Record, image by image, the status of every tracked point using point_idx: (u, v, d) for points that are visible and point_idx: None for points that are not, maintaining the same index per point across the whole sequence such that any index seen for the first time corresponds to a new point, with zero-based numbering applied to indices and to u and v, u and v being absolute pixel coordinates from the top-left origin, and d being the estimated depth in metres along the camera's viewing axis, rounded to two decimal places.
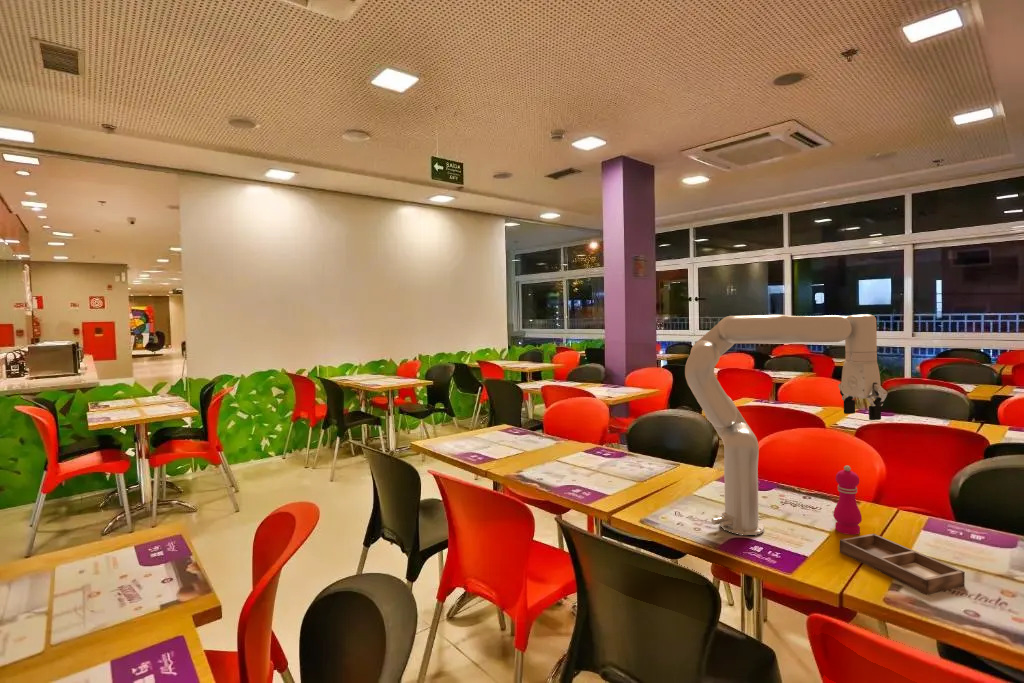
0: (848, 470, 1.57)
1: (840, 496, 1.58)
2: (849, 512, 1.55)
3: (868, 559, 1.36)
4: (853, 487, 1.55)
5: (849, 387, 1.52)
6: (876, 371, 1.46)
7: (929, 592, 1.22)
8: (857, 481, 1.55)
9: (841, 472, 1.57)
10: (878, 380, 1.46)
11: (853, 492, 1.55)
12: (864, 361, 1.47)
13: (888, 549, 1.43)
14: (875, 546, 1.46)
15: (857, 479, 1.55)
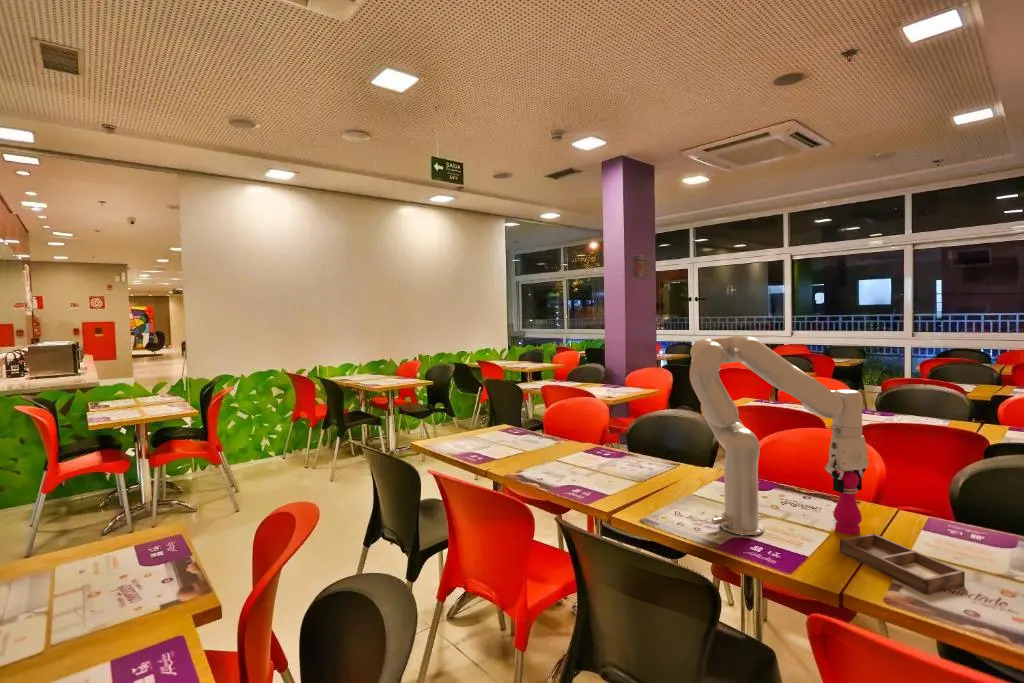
0: None
1: (840, 496, 1.58)
2: (849, 512, 1.55)
3: (868, 559, 1.36)
4: (853, 487, 1.55)
5: (852, 462, 1.54)
6: None
7: (929, 592, 1.22)
8: (857, 481, 1.55)
9: None
10: None
11: (853, 492, 1.55)
12: None
13: (888, 549, 1.43)
14: (875, 546, 1.46)
15: (857, 479, 1.55)
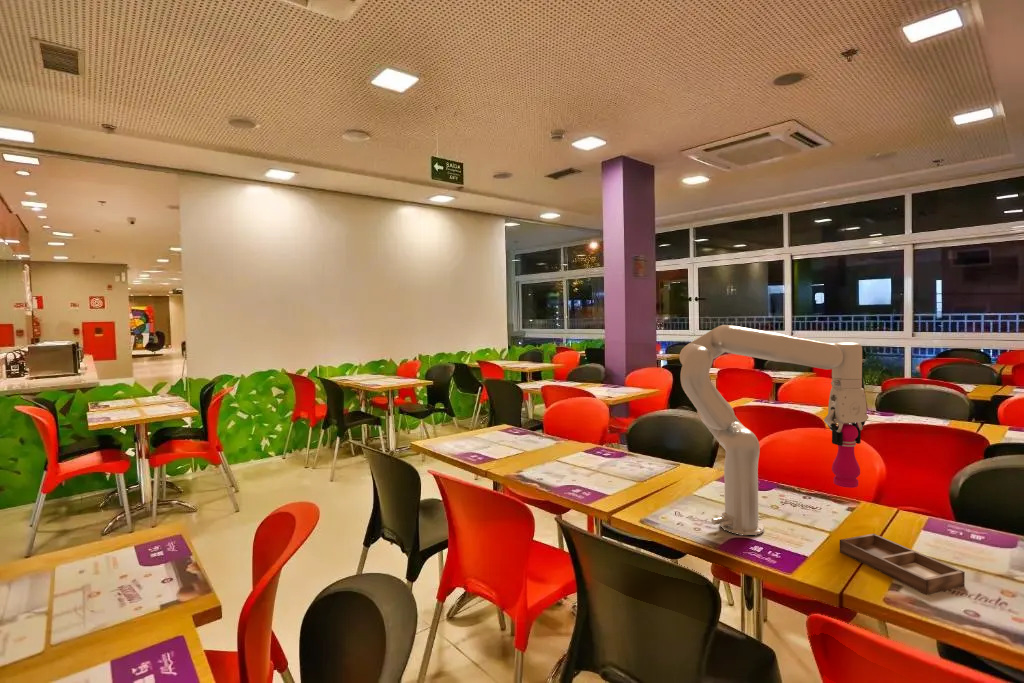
0: (847, 423, 1.56)
1: (839, 450, 1.57)
2: (847, 465, 1.55)
3: (868, 559, 1.36)
4: (852, 440, 1.55)
5: (851, 414, 1.54)
6: None
7: (929, 592, 1.22)
8: (856, 434, 1.54)
9: None
10: None
11: (852, 445, 1.55)
12: None
13: (888, 549, 1.43)
14: (875, 546, 1.46)
15: (856, 432, 1.54)
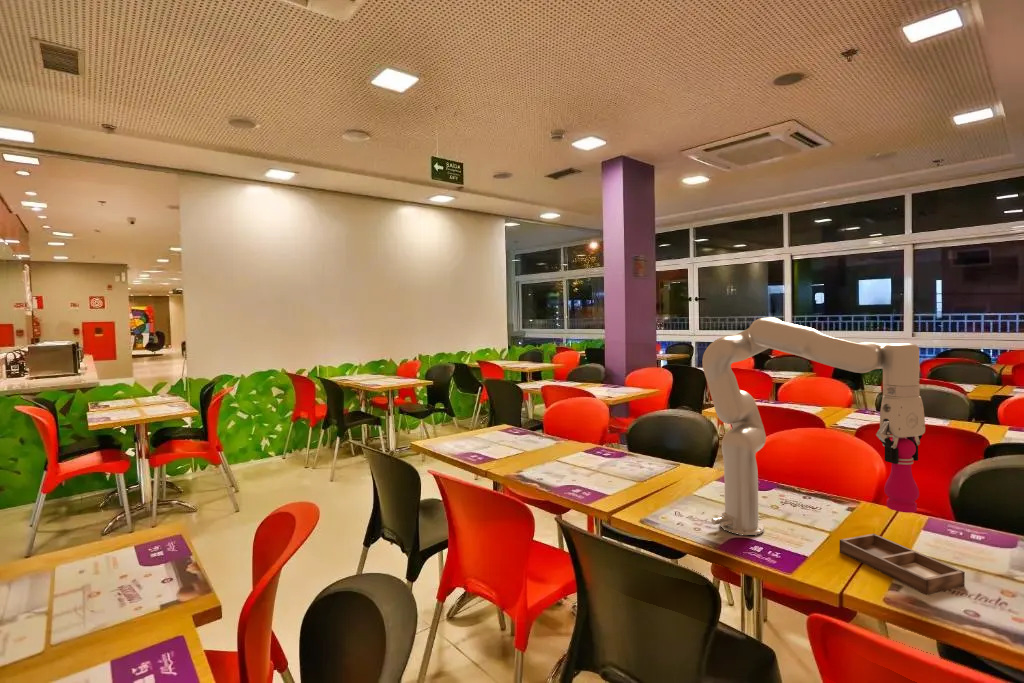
0: None
1: (893, 468, 1.35)
2: (905, 486, 1.32)
3: (868, 559, 1.36)
4: (909, 457, 1.32)
5: (908, 427, 1.31)
6: None
7: (929, 592, 1.22)
8: (914, 449, 1.32)
9: None
10: None
11: (909, 462, 1.32)
12: None
13: (888, 549, 1.43)
14: (875, 546, 1.46)
15: (914, 447, 1.32)
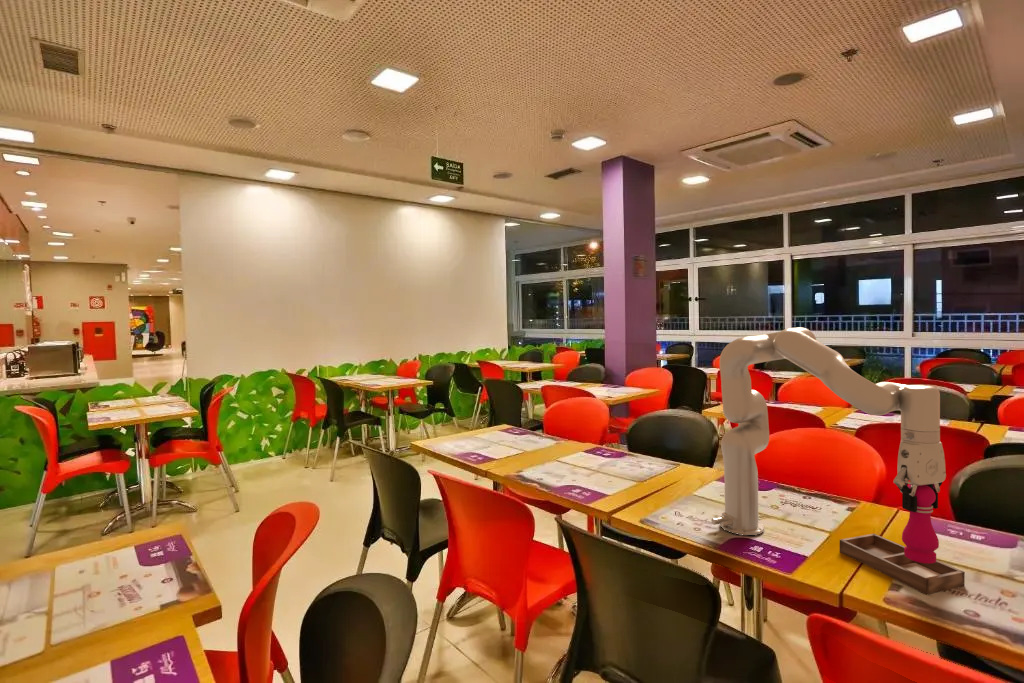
0: None
1: (911, 516, 1.29)
2: (924, 535, 1.26)
3: (868, 559, 1.36)
4: (928, 505, 1.26)
5: (928, 474, 1.25)
6: None
7: (929, 592, 1.22)
8: (934, 498, 1.26)
9: None
10: None
11: (928, 511, 1.26)
12: None
13: (888, 549, 1.43)
14: (875, 546, 1.46)
15: (934, 495, 1.26)
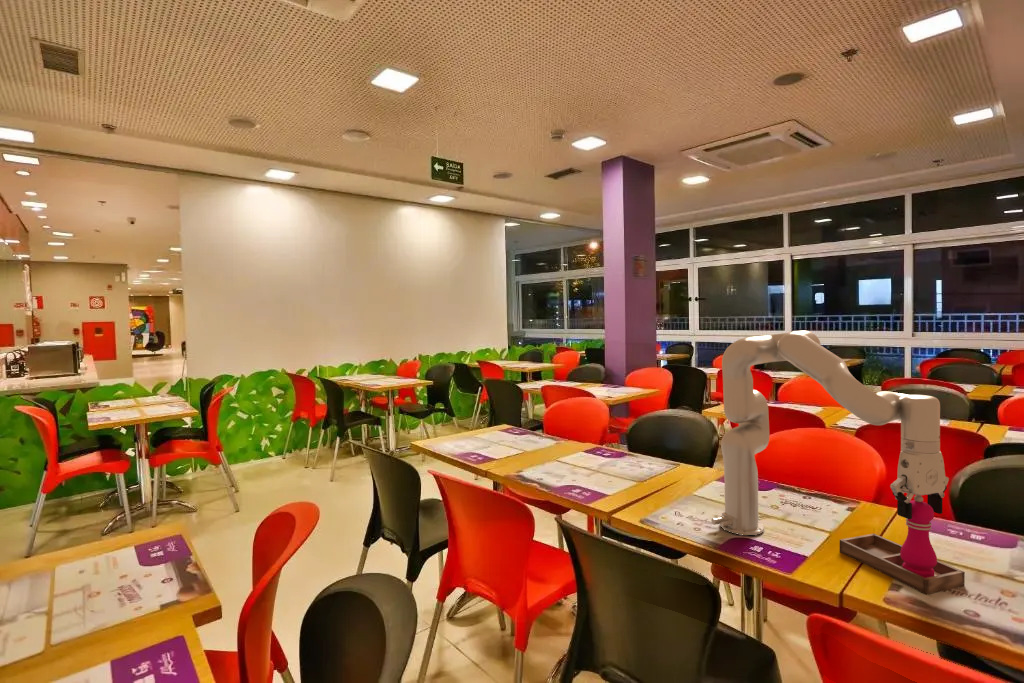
0: (920, 501, 1.28)
1: (910, 533, 1.29)
2: (922, 553, 1.27)
3: (868, 559, 1.36)
4: (927, 522, 1.27)
5: (928, 484, 1.25)
6: None
7: (929, 592, 1.22)
8: (932, 515, 1.26)
9: None
10: None
11: (927, 528, 1.27)
12: None
13: (888, 549, 1.43)
14: (875, 546, 1.46)
15: (932, 512, 1.26)
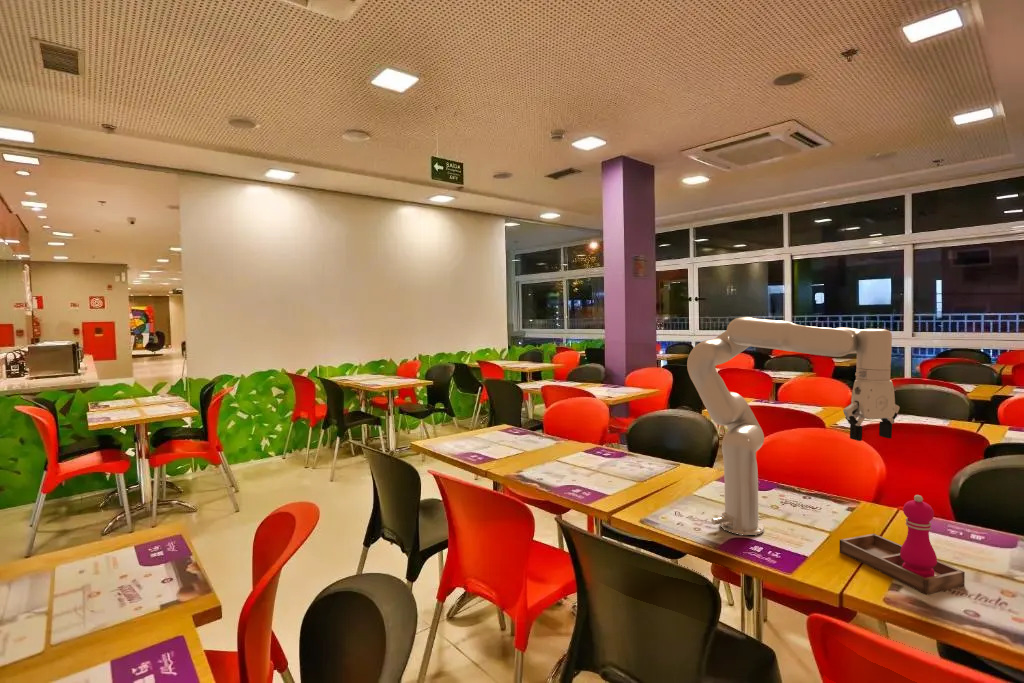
0: (920, 501, 1.28)
1: (910, 533, 1.29)
2: (922, 552, 1.27)
3: (868, 559, 1.36)
4: (927, 522, 1.27)
5: (877, 409, 1.37)
6: None
7: (929, 592, 1.22)
8: (932, 515, 1.26)
9: (911, 503, 1.29)
10: None
11: (927, 528, 1.27)
12: None
13: (888, 549, 1.43)
14: (875, 546, 1.46)
15: (932, 512, 1.26)
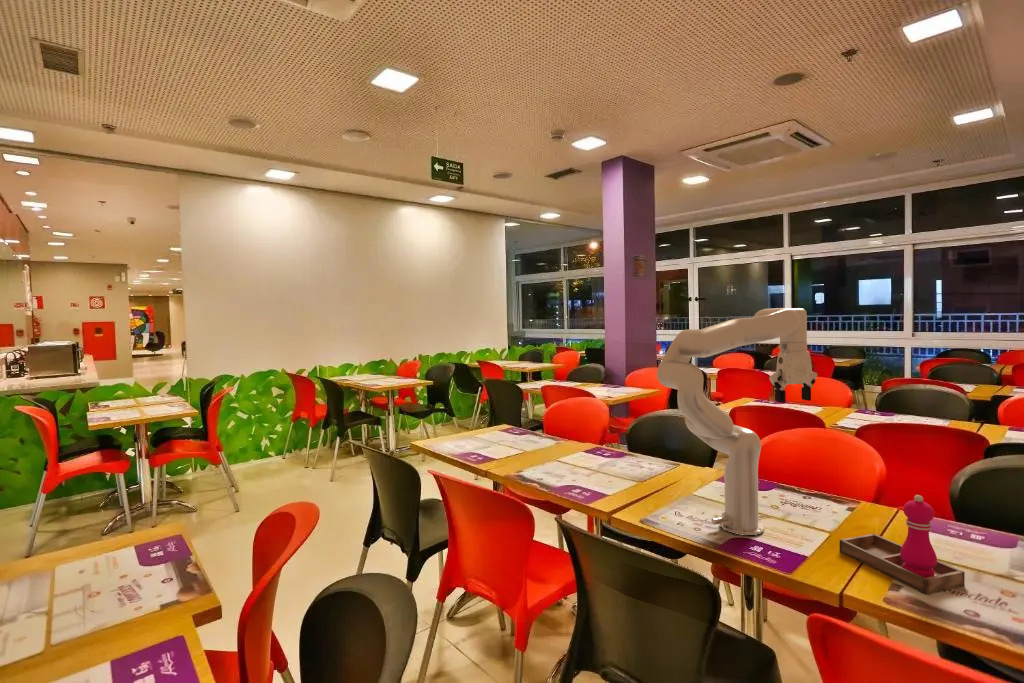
0: (920, 501, 1.28)
1: (910, 533, 1.29)
2: (922, 552, 1.27)
3: (868, 559, 1.36)
4: (927, 522, 1.27)
5: (797, 375, 1.63)
6: None
7: (929, 592, 1.22)
8: (932, 515, 1.26)
9: (911, 503, 1.29)
10: None
11: (927, 528, 1.27)
12: None
13: (888, 549, 1.43)
14: (875, 546, 1.46)
15: (932, 512, 1.26)
